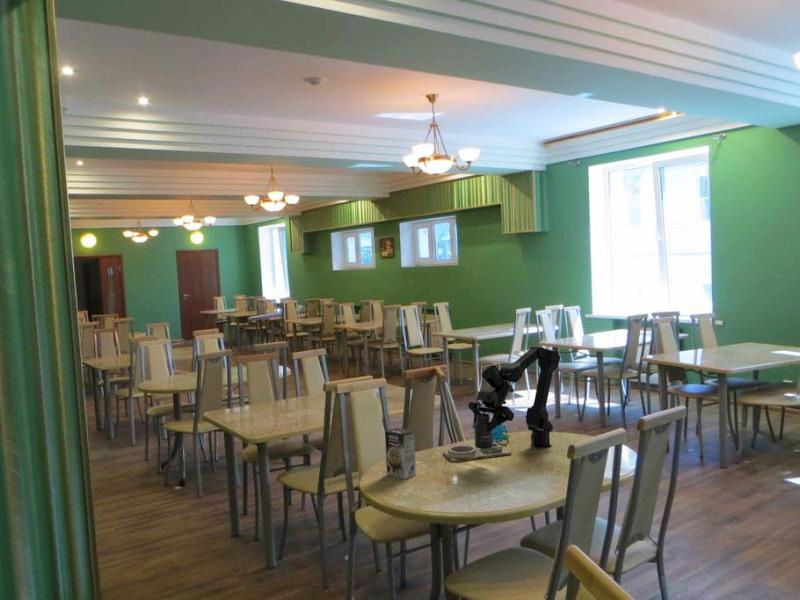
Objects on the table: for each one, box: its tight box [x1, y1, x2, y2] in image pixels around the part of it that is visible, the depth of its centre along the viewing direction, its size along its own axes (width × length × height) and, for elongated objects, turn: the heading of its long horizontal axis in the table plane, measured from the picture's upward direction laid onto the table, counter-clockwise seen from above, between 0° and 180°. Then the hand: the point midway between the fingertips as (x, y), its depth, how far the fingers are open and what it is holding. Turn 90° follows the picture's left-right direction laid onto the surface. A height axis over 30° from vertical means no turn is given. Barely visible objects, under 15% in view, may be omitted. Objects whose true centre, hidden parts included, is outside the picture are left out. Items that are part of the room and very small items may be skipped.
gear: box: [493, 423, 510, 444], centre depth 278 cm, size 11×6×10 cm
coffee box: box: [384, 427, 417, 480], centre depth 238 cm, size 9×6×16 cm
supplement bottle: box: [473, 413, 494, 449], centre depth 246 cm, size 7×7×12 cm
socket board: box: [442, 442, 512, 463], centre depth 260 cm, size 24×12×3 cm, turn 105°
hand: (480, 429), depth 245 cm, fingers closed on supplement bottle, 7 cm apart
